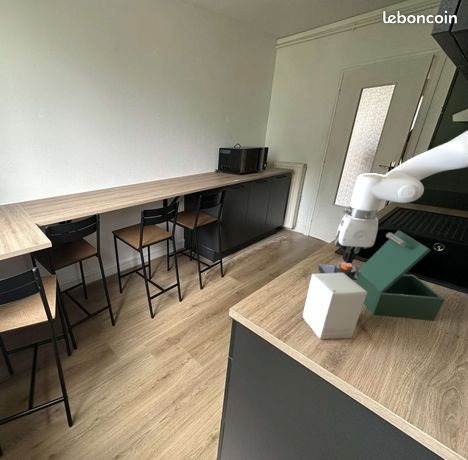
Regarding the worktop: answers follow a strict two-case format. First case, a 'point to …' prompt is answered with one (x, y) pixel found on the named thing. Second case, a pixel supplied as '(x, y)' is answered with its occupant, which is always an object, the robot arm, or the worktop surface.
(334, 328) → the white product box
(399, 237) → the green box lid
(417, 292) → the green lidded box
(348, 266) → the button
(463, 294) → the worktop surface
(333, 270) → the control block
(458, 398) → the worktop surface
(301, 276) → the worktop surface
